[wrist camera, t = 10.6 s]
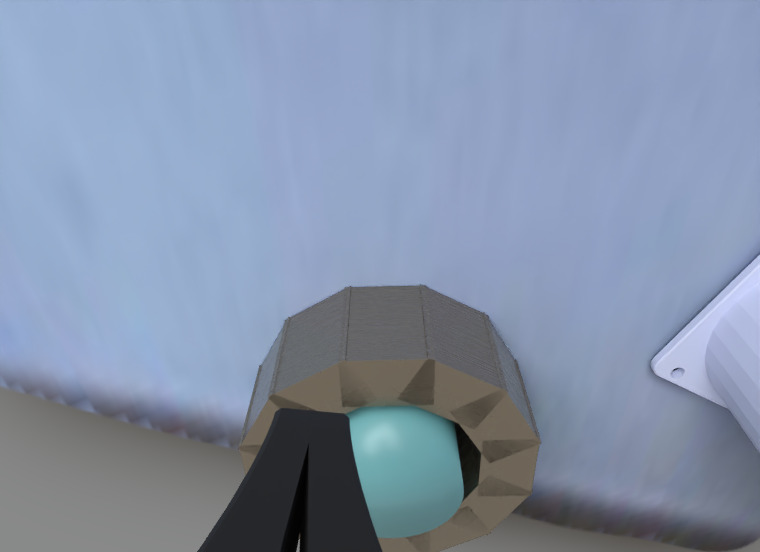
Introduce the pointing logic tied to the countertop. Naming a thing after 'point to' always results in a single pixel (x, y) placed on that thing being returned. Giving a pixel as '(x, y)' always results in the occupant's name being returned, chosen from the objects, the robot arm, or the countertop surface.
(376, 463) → the teal rounded cylinder
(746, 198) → the countertop surface
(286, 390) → the brown faceted tube
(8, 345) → the countertop surface
